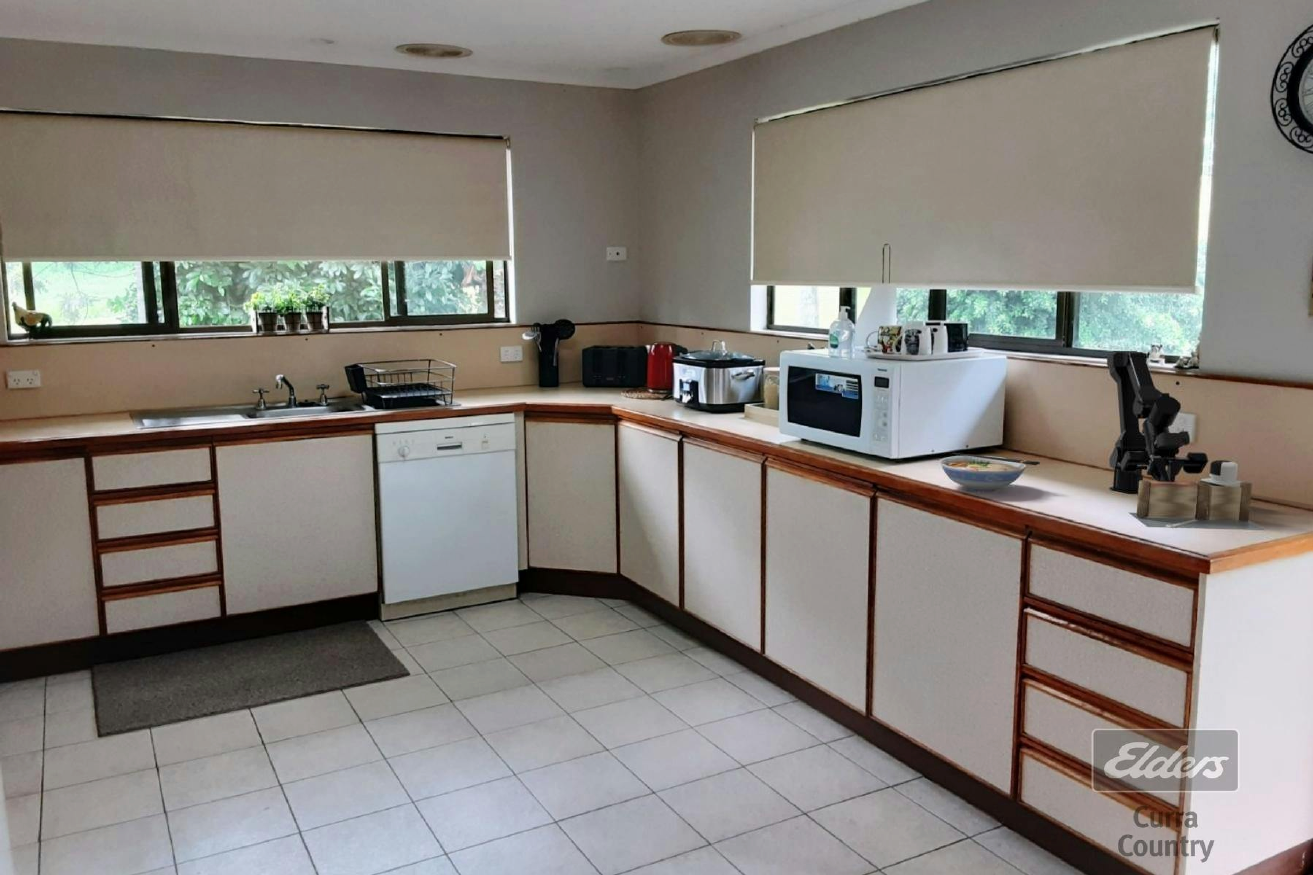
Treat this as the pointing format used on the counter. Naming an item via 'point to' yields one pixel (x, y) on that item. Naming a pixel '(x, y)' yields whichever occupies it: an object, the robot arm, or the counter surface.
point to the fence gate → (1166, 499)
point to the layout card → (1196, 523)
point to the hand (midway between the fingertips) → (1170, 491)
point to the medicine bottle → (1223, 474)
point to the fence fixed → (1223, 502)
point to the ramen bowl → (983, 471)
